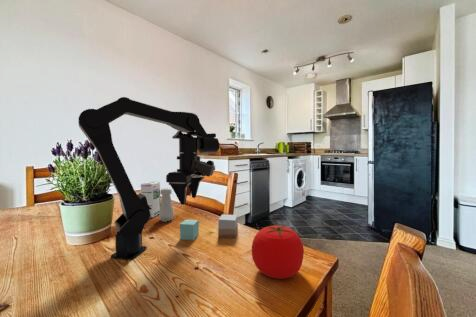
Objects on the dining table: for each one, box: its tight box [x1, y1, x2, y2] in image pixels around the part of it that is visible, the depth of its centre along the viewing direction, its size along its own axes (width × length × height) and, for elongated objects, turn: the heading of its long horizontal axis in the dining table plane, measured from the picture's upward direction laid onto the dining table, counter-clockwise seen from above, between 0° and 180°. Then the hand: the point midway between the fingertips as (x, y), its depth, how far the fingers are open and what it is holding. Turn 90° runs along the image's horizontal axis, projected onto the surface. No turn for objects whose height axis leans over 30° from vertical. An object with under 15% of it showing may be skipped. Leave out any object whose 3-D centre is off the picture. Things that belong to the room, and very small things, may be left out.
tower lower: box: [217, 223, 239, 239], centre depth 69 cm, size 6×6×3 cm
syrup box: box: [140, 181, 161, 218], centre depth 90 cm, size 6×6×14 cm
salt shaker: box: [158, 187, 175, 223], centre depth 84 cm, size 6×6×13 cm
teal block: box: [179, 219, 200, 241], centre depth 67 cm, size 4×4×5 cm
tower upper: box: [217, 213, 239, 230], centre depth 69 cm, size 6×6×3 cm
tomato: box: [251, 224, 305, 280], centre depth 48 cm, size 12×12×10 cm
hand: (188, 200), depth 67 cm, fingers open, 9 cm apart
